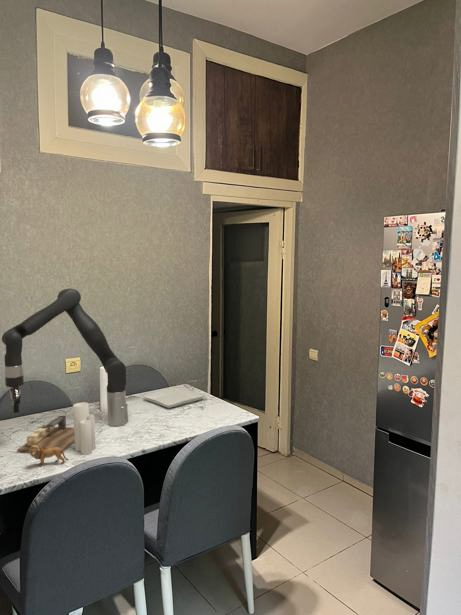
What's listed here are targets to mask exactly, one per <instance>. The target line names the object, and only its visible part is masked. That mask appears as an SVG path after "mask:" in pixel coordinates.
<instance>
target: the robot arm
mask: <svg viewBox="0 0 461 615" xmlns="http://www.w3.org/2000/svg"><path fill="white" fill-rule="evenodd" d="M81 296H82V295H81V294H80V291H78V290H77V289H75V288H65V289H62V290H60V291H59V292H58V295H57V298H56V299H55V300H54V301H53V302H52V303H50V304H49V305H47V306H46V307H44V308H42V309H40V310H38V311H37V312H35V313H33V314H32V315H30V316H29V317H27V318H26V319H24V320H23V321H22V322H21V323H19V324H17V325H15V326H13V327H11V328H10V329H8V330H6V331H5V332H3V334H2V336H1V341H2V343H3V344H4V345H5V354H4V383H5V387H6V388H10V389H9V393H10V399H11V400H10V401H11V404H12V408H13V409H12V410H13V413H14V414H17V413H19V412H20V404H21V398H22V395H21V389H20V388H19V387H21V386H23V385H24V383H25V382H24V381H25V380H24V367H23V358H22V351H23V339H24V338H25V337H27V336H31V335H33V334H35V333H36V332H38V331H39V330H40V329H41V328H44V326H46V325H47V324H48V323H50V322H51V321H52V320H53V319H55V318H57V316H60V315H61V314H63V313H65V312H66V314H67V315H68V316H69V318H70V319H71V320H72V322H73V324H74V326H75V328H76V329H77V330H78V332H79V334H80V335H81V337H82V339H83V340H84V341H85V343H86V344H87V345H88V347H89V348H90V349H91V351H92V352H93V353H94V354H95V355H96V356H97V358H98V360H99V362H100V363H101V365H102V367H103V368H104V371H105V372H106V374H107V375H106V376H107V386H106V400H107V401H106V402H107V403H106V404H107V405H106V406H107V424H108V425H109V426H111V427H120V426H125V425H126V424H127V423H128V422H129V414H128V413H129V412H128V409H129V408H128V403H127V399H126V398H127V396H126V395H127V394H126V393H127V392H126V386H127V368H126V365H125V363H124V362H123V361H122V360H120V359H119V358H118V357H117V355H116V354H115V353H114V352H113V351H112V349H111V346H110V345H109V343H108V340H107V338H106V336H105V334H104V332H103V331H102V329H101V327H100V326H99V325H98V323H97V322H96V321H95V320H94V319H93V318H92V317H91V316H90V315H89V314H88V313H86V311H85V310H84V308H83V307H82V305H81V304H80V302H81V300H82V297H81Z"/></svg>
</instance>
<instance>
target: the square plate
mask: <svg viewBox="0 0 461 615" xmlns="http://www.w3.org/2000/svg"><path fill="white" fill-rule="evenodd" d="M205 397H206V395H205V394H203V393H200V392H197V391H193V390H190V389H187V388H183V387H175V388H169V389H165V390H160V391H157V392H152V393H149V394H145V395H142V398H143V399H145V400H146V401H148V402H152V403H154V404H157V405H160V406H163V407H165V408H167V409H170V408H171V409H173V408H175V407H179V406H183V405H187V404H190V403H194V402H196V401H200V400H201V399H204V398H205Z"/></svg>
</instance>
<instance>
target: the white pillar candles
mask: <svg viewBox="0 0 461 615" xmlns="http://www.w3.org/2000/svg"><path fill="white" fill-rule="evenodd" d="M89 405H90V404H89V402H87V401H86V402H83V401H82V402H77V403H74V404H73V405H72V410H73V411H72V414H73V427H74V435H75V442H74V450H75V451H76V452H80V454H81V455H83V456H88V455H91V454H92V453H93V451H95V450H96V428H95V414H92V413H91V414H90V406H89Z"/></svg>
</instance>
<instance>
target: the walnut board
mask: <svg viewBox="0 0 461 615" xmlns="http://www.w3.org/2000/svg"><path fill="white" fill-rule="evenodd" d="M66 418H67V416H66V415H58V416H57V417H56V418H54V419H52V420H51V421H49V422H48V423H46V424H47V427H50V435H47V436H46V437H45V438H43V439H42V440H40V441H39V442H38V443H36V444H35V445H39V446H43V447H45V448H47V449H51V448H55V447H59V448H61V449H62V450H63V452H64V453H65V452H66V451H67V449H69V448H70V447H71V446H72V445H73V444H75V435H74V426H71V427H70V426H67V419H66ZM30 447H31V446H27V442H25V443H24V444H23V445H21V446H20V447H18V448H17V453H18V452H20V453H21V454H30ZM20 453H19V454H20ZM61 455H63V454H62V452H61Z"/></svg>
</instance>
